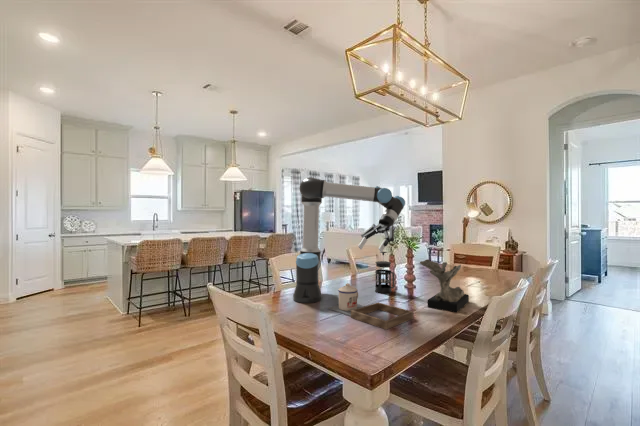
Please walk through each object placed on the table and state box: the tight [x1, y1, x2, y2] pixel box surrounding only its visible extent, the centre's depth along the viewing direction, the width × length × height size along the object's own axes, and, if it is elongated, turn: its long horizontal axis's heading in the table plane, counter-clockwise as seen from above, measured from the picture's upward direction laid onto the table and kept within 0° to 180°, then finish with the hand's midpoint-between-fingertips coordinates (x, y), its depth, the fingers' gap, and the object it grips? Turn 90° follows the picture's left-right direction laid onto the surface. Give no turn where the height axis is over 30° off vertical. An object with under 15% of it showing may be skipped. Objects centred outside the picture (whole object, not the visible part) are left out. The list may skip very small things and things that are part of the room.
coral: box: [419, 259, 470, 313], centre depth 161 cm, size 25×20×22 cm
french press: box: [374, 251, 395, 295], centre depth 185 cm, size 12×9×23 cm
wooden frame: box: [350, 302, 414, 330], centre depth 141 cm, size 19×19×3 cm
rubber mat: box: [327, 303, 366, 317], centre depth 153 cm, size 15×15×1 cm
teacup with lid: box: [337, 283, 359, 311], centre depth 154 cm, size 12×9×12 cm
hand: (369, 249), depth 166 cm, fingers open, 13 cm apart
